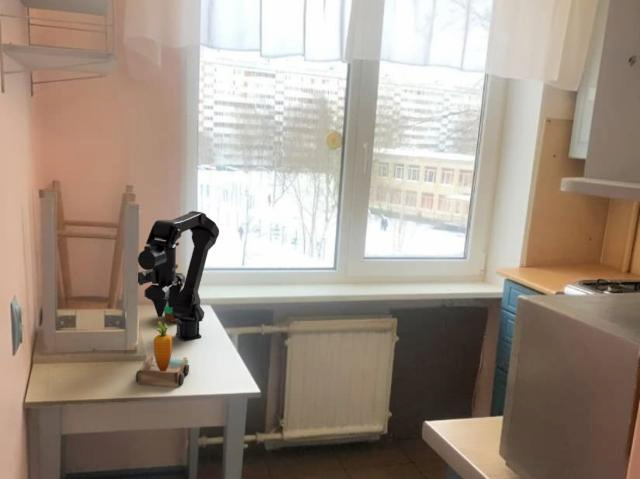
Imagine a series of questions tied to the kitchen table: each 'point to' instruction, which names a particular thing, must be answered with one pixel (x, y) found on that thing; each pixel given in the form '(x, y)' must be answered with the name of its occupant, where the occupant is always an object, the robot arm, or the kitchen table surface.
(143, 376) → the cart
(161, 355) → the carrot
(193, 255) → the robot arm
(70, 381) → the kitchen table surface
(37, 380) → the kitchen table surface
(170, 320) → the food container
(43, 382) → the kitchen table surface
